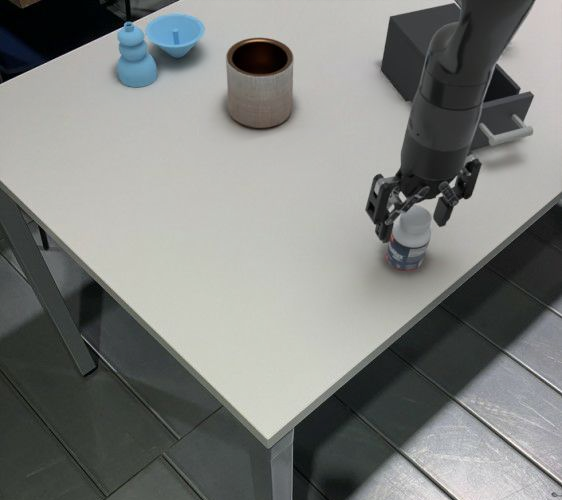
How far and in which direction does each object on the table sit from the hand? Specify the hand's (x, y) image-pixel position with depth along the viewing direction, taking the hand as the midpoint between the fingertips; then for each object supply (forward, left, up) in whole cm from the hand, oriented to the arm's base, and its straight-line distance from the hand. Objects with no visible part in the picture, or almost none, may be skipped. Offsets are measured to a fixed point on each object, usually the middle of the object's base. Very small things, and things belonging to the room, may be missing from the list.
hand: (411, 230), depth 83 cm
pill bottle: (0, 0, -7) cm, 7 cm away
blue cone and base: (+19, -58, -7) cm, 61 cm away
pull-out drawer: (-24, -21, -5) cm, 32 cm away
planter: (+7, -39, -7) cm, 40 cm away
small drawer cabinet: (-24, -35, -6) cm, 43 cm away
